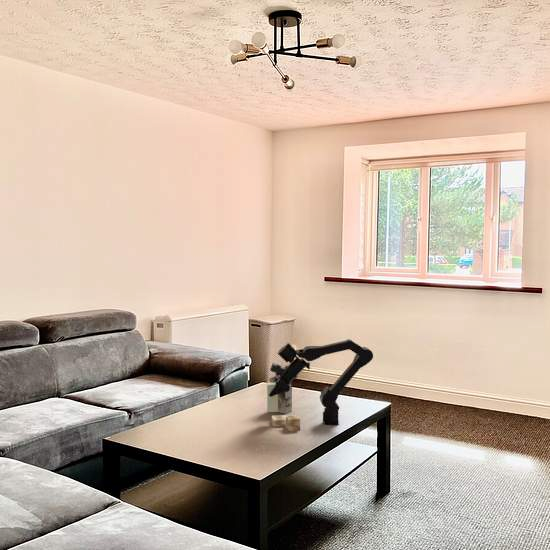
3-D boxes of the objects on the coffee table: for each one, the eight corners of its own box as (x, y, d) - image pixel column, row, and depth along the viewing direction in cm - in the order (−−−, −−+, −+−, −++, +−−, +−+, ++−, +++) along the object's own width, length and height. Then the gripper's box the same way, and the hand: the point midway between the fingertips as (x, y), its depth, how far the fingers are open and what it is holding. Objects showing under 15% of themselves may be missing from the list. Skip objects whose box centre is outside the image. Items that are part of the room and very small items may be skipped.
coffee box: (292, 410, 284) (292, 377, 283) (285, 414, 278) (285, 380, 277) (276, 408, 289) (276, 375, 288) (269, 411, 283) (269, 377, 282)
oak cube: (296, 426, 260) (296, 415, 260) (300, 430, 255) (300, 418, 255) (285, 427, 259) (285, 416, 258) (288, 431, 254) (288, 419, 253)
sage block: (277, 408, 266) (277, 382, 265) (277, 411, 261) (277, 384, 261) (267, 409, 266) (267, 382, 265) (267, 411, 261) (267, 385, 260)
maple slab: (287, 421, 268) (287, 415, 267) (288, 426, 261) (289, 419, 260) (271, 422, 267) (271, 415, 267) (273, 427, 260) (273, 420, 260)
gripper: (279, 353, 271) (256, 377, 272) (281, 361, 253) (256, 387, 253) (297, 369, 272) (273, 394, 272) (300, 379, 254) (275, 405, 254)
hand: (269, 394), depth 263 cm, fingers closed on sage block, 4 cm apart
